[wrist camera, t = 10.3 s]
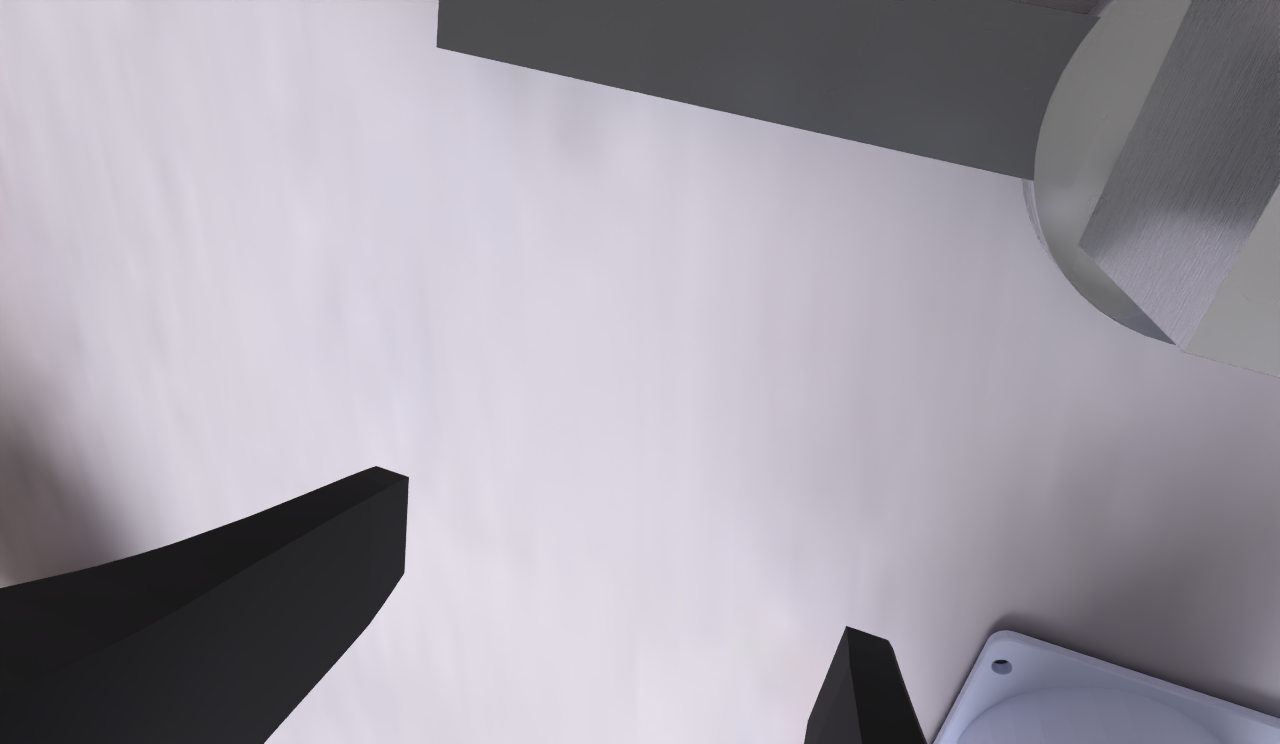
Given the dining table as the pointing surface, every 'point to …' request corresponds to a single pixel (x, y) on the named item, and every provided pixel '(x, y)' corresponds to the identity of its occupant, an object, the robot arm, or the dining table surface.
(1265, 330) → the brushed metal cube
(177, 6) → the dining table surface
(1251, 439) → the dining table surface
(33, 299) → the dining table surface
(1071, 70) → the ratchet
